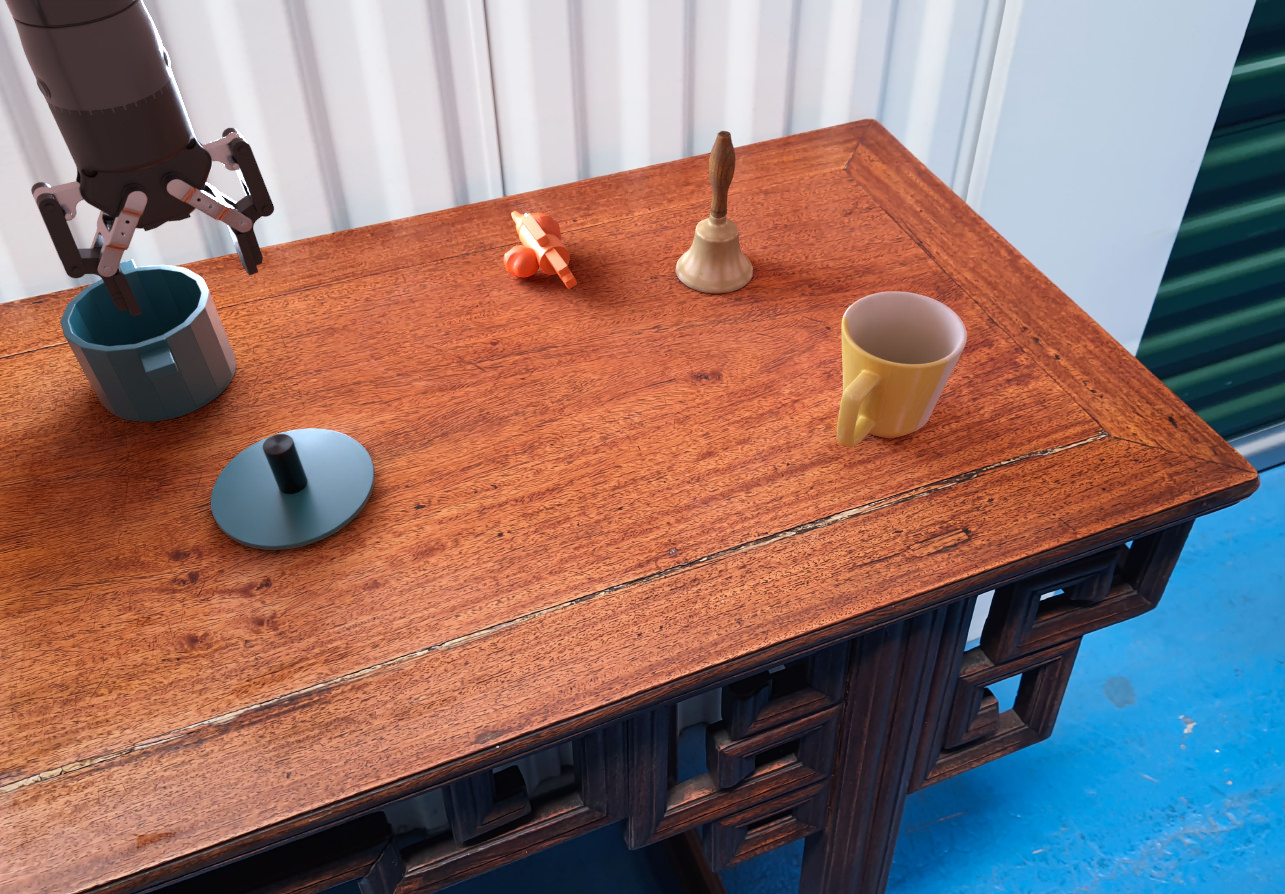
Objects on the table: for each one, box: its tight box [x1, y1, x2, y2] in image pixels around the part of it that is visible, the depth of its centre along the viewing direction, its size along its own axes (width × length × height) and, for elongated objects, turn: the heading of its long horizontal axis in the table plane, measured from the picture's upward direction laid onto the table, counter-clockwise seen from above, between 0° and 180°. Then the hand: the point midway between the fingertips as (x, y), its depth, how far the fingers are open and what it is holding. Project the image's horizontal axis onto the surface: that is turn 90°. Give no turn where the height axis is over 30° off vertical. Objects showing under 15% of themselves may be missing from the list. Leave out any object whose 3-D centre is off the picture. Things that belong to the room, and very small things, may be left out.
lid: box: [210, 427, 376, 551], centre depth 82 cm, size 13×13×6 cm
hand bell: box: [675, 130, 754, 294], centre depth 100 cm, size 8×8×16 cm
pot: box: [59, 259, 237, 423], centre depth 92 cm, size 12×18×8 cm
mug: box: [835, 290, 968, 448], centre depth 86 cm, size 14×10×10 cm
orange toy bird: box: [503, 210, 578, 290], centre depth 105 cm, size 5×8×12 cm
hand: (193, 289), depth 73 cm, fingers open, 8 cm apart
